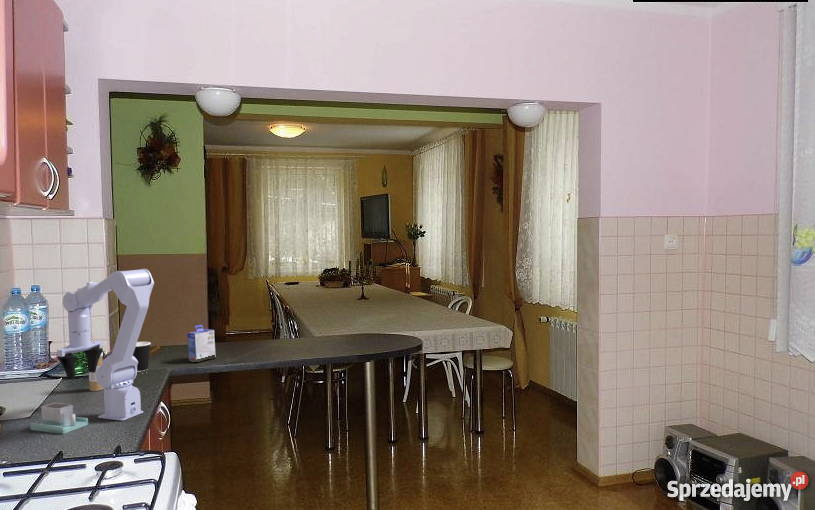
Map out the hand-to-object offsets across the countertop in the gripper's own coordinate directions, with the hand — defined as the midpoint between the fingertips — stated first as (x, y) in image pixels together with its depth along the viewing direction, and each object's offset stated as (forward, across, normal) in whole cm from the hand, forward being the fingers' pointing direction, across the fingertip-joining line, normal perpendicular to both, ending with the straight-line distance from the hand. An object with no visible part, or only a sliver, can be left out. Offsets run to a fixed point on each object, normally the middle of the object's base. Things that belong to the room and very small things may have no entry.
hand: (81, 375), depth 184 cm
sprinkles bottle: (+11, -18, -14) cm, 25 cm away
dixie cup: (+11, -42, -18) cm, 47 cm away
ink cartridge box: (+11, -65, -8) cm, 66 cm away
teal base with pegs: (+10, +15, +8) cm, 20 cm away
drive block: (+9, +15, +8) cm, 19 cm away
